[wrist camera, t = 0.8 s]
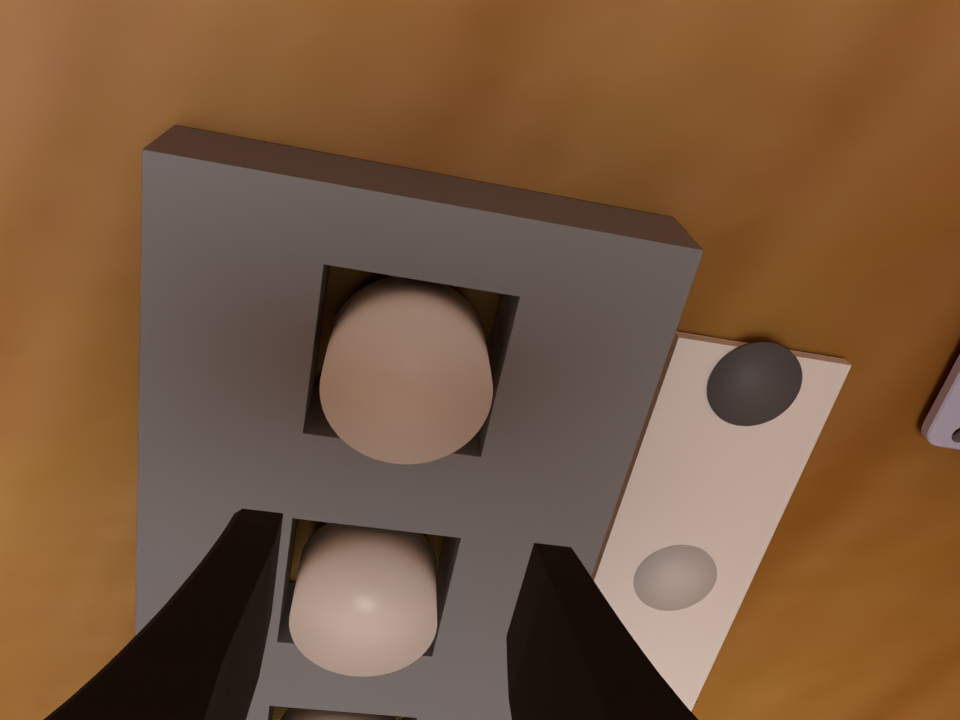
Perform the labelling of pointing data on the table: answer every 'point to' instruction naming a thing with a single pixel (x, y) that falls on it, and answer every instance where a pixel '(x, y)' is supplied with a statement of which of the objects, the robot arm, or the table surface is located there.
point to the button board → (296, 400)
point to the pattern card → (709, 493)
